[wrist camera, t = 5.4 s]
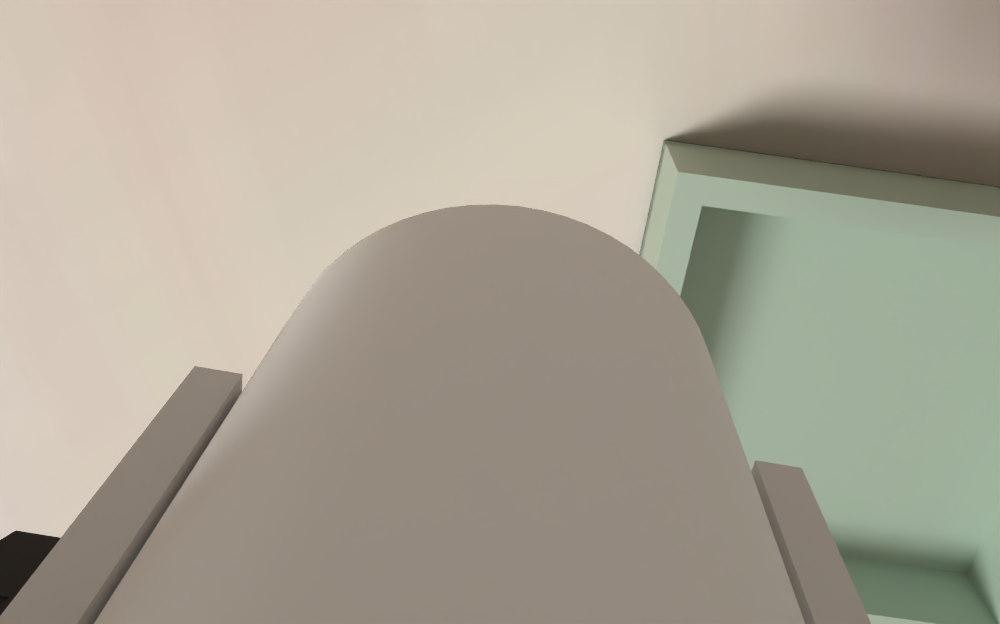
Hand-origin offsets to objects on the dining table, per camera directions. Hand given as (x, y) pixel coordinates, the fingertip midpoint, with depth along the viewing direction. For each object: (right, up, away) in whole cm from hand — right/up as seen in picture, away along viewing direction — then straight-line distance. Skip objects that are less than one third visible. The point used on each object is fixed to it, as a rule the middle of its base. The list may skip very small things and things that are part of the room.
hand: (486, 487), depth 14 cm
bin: (+14, 0, +21) cm, 25 cm away
